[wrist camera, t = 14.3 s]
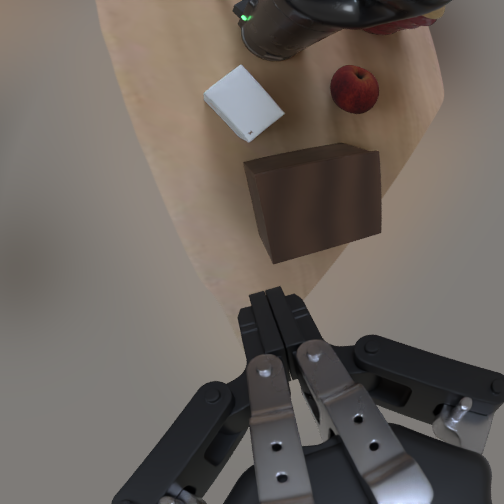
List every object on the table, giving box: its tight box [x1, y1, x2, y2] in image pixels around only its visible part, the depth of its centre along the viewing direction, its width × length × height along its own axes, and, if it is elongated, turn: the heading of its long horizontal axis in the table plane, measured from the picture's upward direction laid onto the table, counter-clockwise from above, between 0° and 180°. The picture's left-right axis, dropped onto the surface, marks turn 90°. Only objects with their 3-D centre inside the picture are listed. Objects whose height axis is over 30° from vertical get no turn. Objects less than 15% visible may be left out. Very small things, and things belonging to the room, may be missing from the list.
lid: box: [254, 151, 381, 264], centre depth 36 cm, size 18×13×1 cm
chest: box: [243, 143, 369, 261], centre depth 40 cm, size 17×13×9 cm
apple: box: [330, 65, 379, 114], centre depth 34 cm, size 7×8×8 cm
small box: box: [204, 65, 285, 142], centre depth 32 cm, size 8×6×10 cm
